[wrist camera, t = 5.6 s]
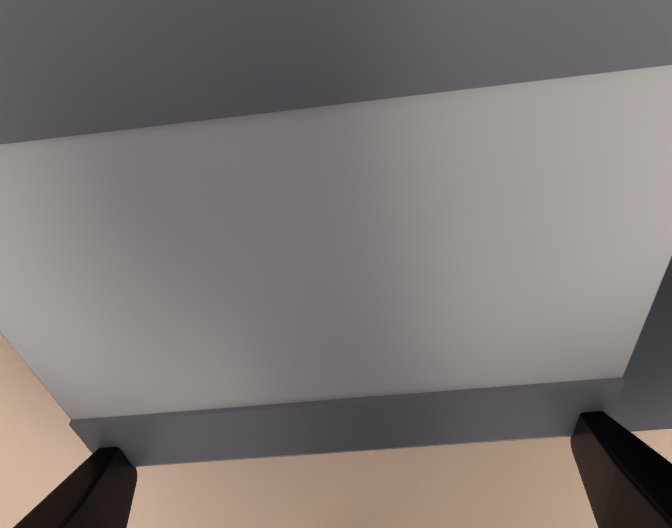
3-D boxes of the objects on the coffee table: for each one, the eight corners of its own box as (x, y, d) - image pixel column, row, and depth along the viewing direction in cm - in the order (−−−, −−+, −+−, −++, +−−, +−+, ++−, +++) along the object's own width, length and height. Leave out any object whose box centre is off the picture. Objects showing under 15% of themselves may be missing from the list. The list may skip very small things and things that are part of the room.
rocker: (568, 369, 11) (601, 439, 9) (134, 403, 11) (108, 473, 10) (724, -171, 5) (861, -186, 4) (-150, -40, 6) (-292, -14, 4)
